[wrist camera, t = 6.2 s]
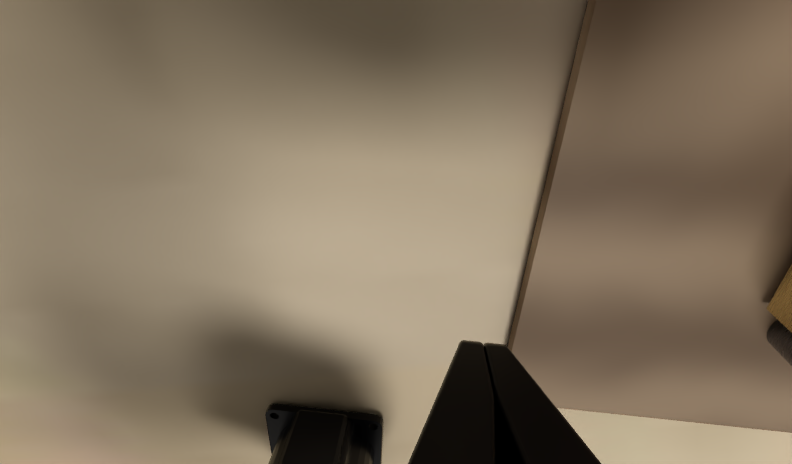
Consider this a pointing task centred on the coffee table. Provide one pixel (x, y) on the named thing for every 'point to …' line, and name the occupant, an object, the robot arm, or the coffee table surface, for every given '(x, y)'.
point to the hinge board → (667, 217)
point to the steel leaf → (781, 340)
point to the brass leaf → (783, 301)
